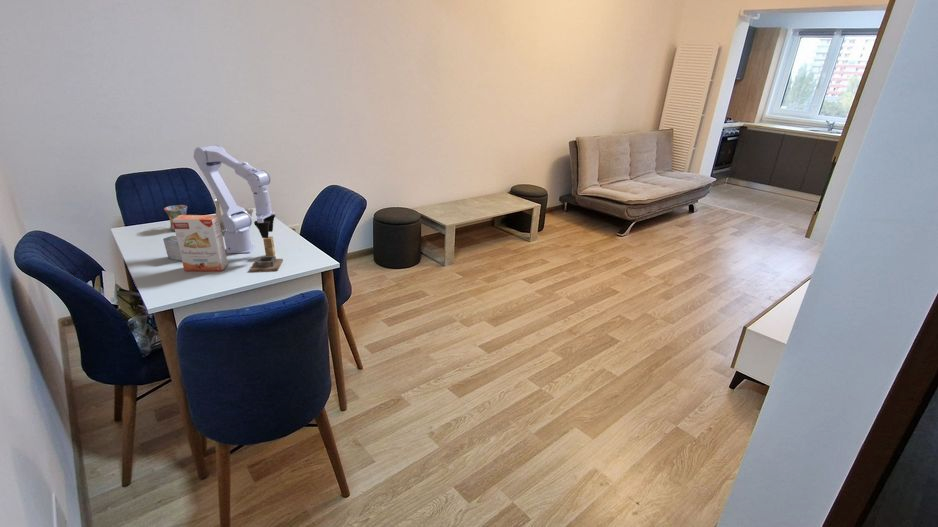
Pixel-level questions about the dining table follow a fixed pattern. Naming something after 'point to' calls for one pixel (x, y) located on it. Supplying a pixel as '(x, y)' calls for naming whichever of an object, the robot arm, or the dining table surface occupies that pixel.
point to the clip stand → (266, 264)
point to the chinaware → (220, 211)
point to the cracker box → (200, 242)
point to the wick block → (269, 246)
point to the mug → (175, 213)
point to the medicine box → (172, 248)
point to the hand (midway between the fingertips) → (267, 234)
